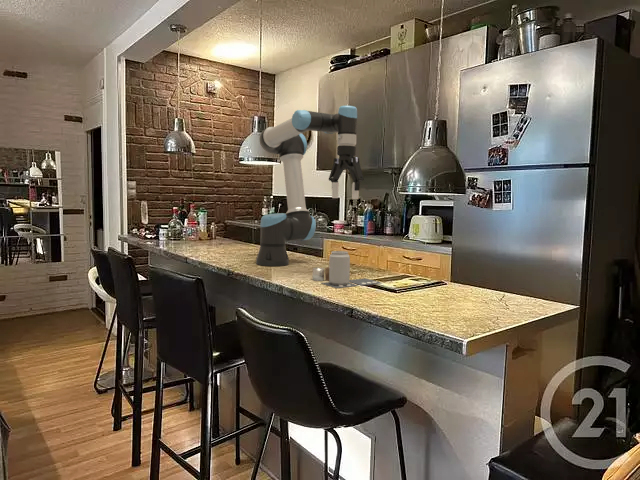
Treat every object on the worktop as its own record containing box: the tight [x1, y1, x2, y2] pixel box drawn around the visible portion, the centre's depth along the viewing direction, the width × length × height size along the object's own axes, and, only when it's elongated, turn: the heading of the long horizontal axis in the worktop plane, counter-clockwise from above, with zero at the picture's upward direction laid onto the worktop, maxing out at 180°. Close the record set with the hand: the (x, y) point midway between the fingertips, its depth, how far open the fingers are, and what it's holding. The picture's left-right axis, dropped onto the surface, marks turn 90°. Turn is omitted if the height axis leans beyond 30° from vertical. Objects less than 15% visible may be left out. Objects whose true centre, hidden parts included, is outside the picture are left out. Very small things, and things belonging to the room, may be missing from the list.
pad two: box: [320, 281, 359, 289], centre depth 174 cm, size 10×10×1 cm
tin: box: [312, 267, 325, 282], centre depth 181 cm, size 4×4×5 cm
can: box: [328, 250, 351, 285], centre depth 173 cm, size 8×8×12 cm
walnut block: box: [324, 266, 329, 282], centre depth 182 cm, size 5×5×5 cm
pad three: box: [349, 278, 382, 287], centre depth 180 cm, size 10×10×1 cm
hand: (344, 198), depth 192 cm, fingers open, 13 cm apart
